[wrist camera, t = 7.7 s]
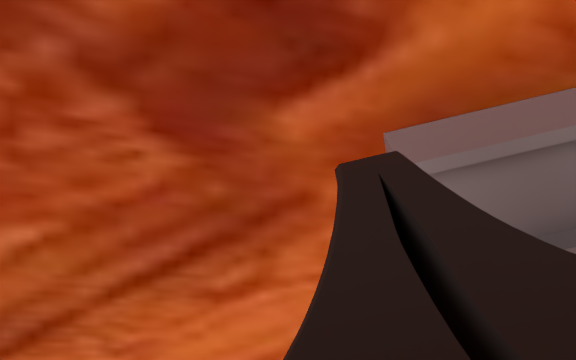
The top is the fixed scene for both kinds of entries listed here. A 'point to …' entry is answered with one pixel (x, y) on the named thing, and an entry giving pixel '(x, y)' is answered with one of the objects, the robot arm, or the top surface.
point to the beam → (506, 162)
